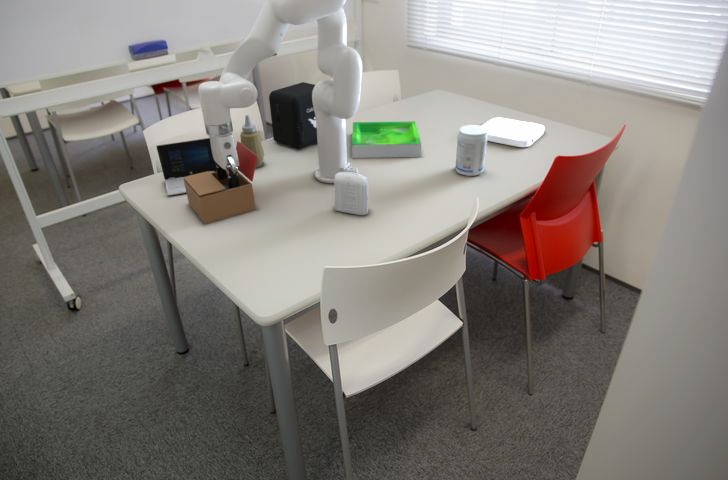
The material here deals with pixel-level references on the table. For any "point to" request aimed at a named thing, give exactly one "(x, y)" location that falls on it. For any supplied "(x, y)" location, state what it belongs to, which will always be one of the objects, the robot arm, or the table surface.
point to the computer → (513, 132)
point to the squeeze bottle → (252, 140)
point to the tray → (385, 139)
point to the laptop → (184, 162)
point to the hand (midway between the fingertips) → (229, 183)
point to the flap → (246, 161)
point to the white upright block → (351, 193)
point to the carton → (218, 196)
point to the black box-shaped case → (293, 116)
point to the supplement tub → (471, 150)
